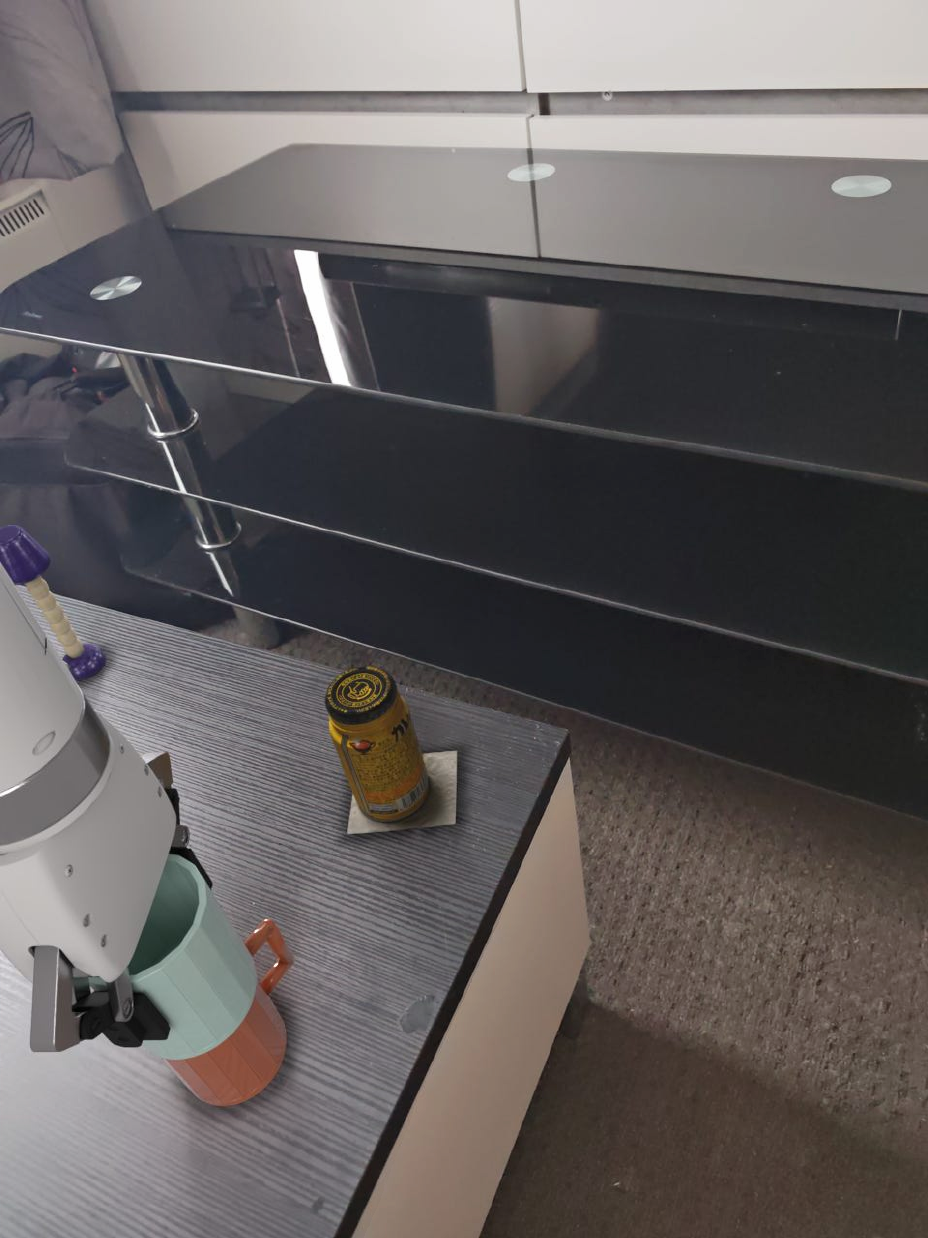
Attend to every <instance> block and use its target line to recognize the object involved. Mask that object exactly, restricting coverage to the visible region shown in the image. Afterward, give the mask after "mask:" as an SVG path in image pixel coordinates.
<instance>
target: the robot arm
mask: <svg viewBox="0 0 928 1238" xmlns="http://www.w3.org/2000/svg"><path fill="white" fill-rule="evenodd" d="M62 659H63V658H62V657H61V655H60V654H59V652H58V651H57V649H56V648H55V646H54V644H53V642H52V641H51V639H50V638H49V636H48V635H47V633H46V632H45V630H44V629H43V627H42V625H41V624H40V622H39V621H38V619H37V617H36V616H35V614H34V613H33V610H32V609H31V608H30V606H29V605H28V603H27V602H26V601H25V598H24V597H23V596H22V594H21V592H20V591H19V589H18V587H17V585H15V584H14V583H13V581H12V580H11V578H10V577H9V575H8V573H7V572H6V570H5V569H4V567H3V566H2V564H1V562H0V952H1V953H2V954H3V955H4V956H5V958H6V959H7V960H8V961H9V963H11V964H12V966H13V967H14V968H15V969H16V970H17V971H18V972H19V973H20V975H22V976H23V977H24V978H25V979H26V981H29V982H30V983H31V984H32V989H31V990H32V991H31V1011H30V1030H29V1048H30V1051H31V1052H33V1053H61V1052H64V1051H66V1050H68V1049H71V1048H73V1047H75V1046H78V1045H79V1044H80V1043H82V1042H83V1041H92V1040H94V1039H96V1038H97V1037H99V1036H100V1035H101V1034H103V1035H104V1036H105V1037H106V1039H108V1040H109V1042H110V1043H112V1044H113V1045H115V1046H116V1047H120V1048H128V1049H129V1048H132V1049H133V1048H140V1047H142V1043H143V1040H167V1039H168V1036H169V1033H170V1029H171V1028H170V1026H169V1023H168V1021H167V1020H166V1019H165V1018H164V1017H163V1016H162V1014H161V1013H160V1012H159V1011H158V1010H157V1008H156V1007H155V1006H154V1005H153V1004H152V1002H151V1001H150V1000H149V999H148V998H147V996H146V995H144V994H142V993H133V992H132V987H131V981H130V976H129V970H128V965H129V963H130V961H131V959H132V957H133V954H134V952H135V949H136V947H137V944H138V941H139V939H140V936H141V933H142V930H143V928H144V925H145V922H146V919H147V916H148V913H149V910H150V907H151V905H152V902H153V899H154V896H155V893H156V890H157V887H158V884H159V881H160V878H161V875H162V872H163V869H164V866H165V863H166V860H167V857H168V854H175V855H179V856H181V857H183V858H184V859H186V860H188V861H189V862H191V863H193V864H194V865H195V866H196V867H197V869H198V870H199V872H200V874H201V875H202V877H203V878H204V880H205V882H206V883H207V885H208V886H209V888H210V890H211V891H212V889H213V885H214V883H213V881H212V880H211V878H210V876H209V875H208V873H207V872H206V869H205V868H204V866H203V865H202V863H201V862H200V860H199V858H198V857H197V855H196V854H195V852H194V851H193V849H192V848H190V847H189V848H188V845H189V843H190V838H191V837H190V836H191V835H190V829H189V827H188V826H187V825H182V824H181V815H180V800H181V798H180V796H179V795H180V794H179V792H178V790H177V788H175V787H172V785H173V784H174V778H173V769H172V761H171V756H170V753H169V752H168V751H157V752H144V753H143V754H140V752H139V751H137V749H136V748H135V747H134V745H133V744H132V743H131V742H130V741H129V740H128V739H127V737H126V736H124V734H123V733H122V732H121V731H120V730H119V729H118V728H117V727H116V726H115V725H114V724H113V723H112V722H111V721H109V720H108V719H107V718H106V717H105V716H104V715H102V714H101V712H98V711H96V710H95V708H94V707H93V706H92V704H91V702H90V701H89V700H88V698H87V696H86V694H85V692H83V690H82V689H81V687H80V685H79V684H78V682H77V680H75V679H74V677H73V676H72V674H71V668H70V666H69V665H68V664H67V663H66V662H64V661H63V660H62ZM88 977H101V978H102V979H103V980H104V981H106V985H107V990H108V991H93V992H92V993H91V990H90V985H89V980H88Z"/></svg>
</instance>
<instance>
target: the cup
mask: <svg viewBox="0 0 928 1238" xmlns="http://www.w3.org/2000/svg"><path fill="white" fill-rule="evenodd" d="M244 942H245V941H243V939H242V937H241V936H240V934H239V933H238V931H237V929H236V928H235V926H234V924H233V923H232V922H231V920H230V918H229V917H228V915H227V914H226V912H225V911H224V909H223V907H222V905H221V904H220V903H219V901H218V899H217V897H216V896H215V895H214V893H213V891H212V889H211V890H210V888H209V886H208V885H207V883H206V882H205V880H204V878H203V877H202V875H201V874H200V872H199V870H198V869H197V867H196V866H195V865H194V864H193V863H191V862H189V861H188V860H186V859H184V858H183V857H181V856H179V855H175V854H168V857H167V860H166V863H165V866H164V869H163V872H162V875H161V878H160V881H159V884H158V887H157V890H156V893H155V896H154V899H153V902H152V905H151V907H150V910H149V913H148V916H147V919H146V922H145V925H144V928H143V930H142V933H141V936H140V939H139V941H138V944H137V947H136V949H135V952H134V954H133V957H132V959H131V961H130V963H129V965H128V970H129V976H130V981H131V987H132V992H133V993H142V994H144V995H146V996H147V998H148V999H149V1000H150V1001H151V1002H152V1004H153V1005H154V1006H155V1007H156V1008H157V1010H158V1011H159V1012H160V1013H161V1014H162V1016H163V1017H164V1018H165V1019H166V1020H167V1021H168V1023H169V1026H170V1028H171V1029H170V1033H169V1036H168V1039H167V1040H143V1043H142V1046H141V1047H142V1048H143V1049H144V1050H145V1052H148V1053H149V1054H150V1055H152V1056H155V1057H157V1058H158V1059H159V1058H160V1059H161V1058H163V1059H169V1060H182V1059H188V1058H193V1057H196V1056H199V1055H202V1054H204V1053H206V1052H208V1051H210V1050H212V1049H213V1048H215V1047H217V1046H218V1045H220V1044H221V1043H222V1042H223V1041H225V1040H226V1039H227V1038H228V1037H229V1036H230V1035H231V1034H232V1033H233V1032H234V1031H235V1030H236V1029H237V1028H238V1027H239V1025H240V1024H241V1023H242V1021H243V1020H244V1018H245V1017H246V1015H247V1013H248V1011H249V1009H250V1007H251V1005H252V1002H253V999H254V996H255V992H256V986H257V979H258V971H257V967H256V963H255V962H256V961H255V960H254V957H252V955H251V954H250V952H249V951H248V949H247V947H246V946H245V944H244ZM88 980H89V985H90V990H91V993H92V992H93V991H108V990H107V985H106V981H104V980H103V979H102V978H101V977H88Z"/></svg>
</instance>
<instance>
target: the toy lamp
mask: <svg viewBox="0 0 928 1238" xmlns="http://www.w3.org/2000/svg"><path fill="white" fill-rule="evenodd" d="M0 562H1V564H2V566H3V567H4V569H5V570H6V572H7V573H8V575H9V577H10V578H11V580H12V581H13V583H14V584H15V586H21V585H25V586H26V589H27V592H28V594H29V595H30V596H31V597H32V598H33V599H34V602H35V605H36V607H37V608H38V609H39V610H40V611H41V613H42V616H43V618H44V620H46V621H47V623H48V625H49V629H50V630H51V632H53V634H55V637H56V640H57V641H58V644H60V645H62V649H63V651H64V653H65V654H64V655H63V657H62V658H61V659H62V660H63V661H64V662H66V663H67V664H68V665H69V666H70V668H71V674H72V676H73V677H74V679H75V681H82V680H85V679H89V678H90V677H93V676H94V675H96V674H97V673H98V672H99V671H101V669H102V668H103V667H104V666H105V664H106V661H107V657H106V653H105V652H104V651H103V650H102V649H101V648H100V647H98V646H97V645H95V644H91V643H82V641H81V639H79V638H78V635H77V632H76V630H75V629H74V628H73V627H72V626H71V621H70V619H69V618H68V617H67V616H66V615H65V614H64V609H63V608H62V606H61V604H59V602H57V598H56V596H55V594H54V593H53V592H52V591H51V590H50V587H49V584H48V582H47V581H46V580H45V579H44V578H43V577H42V576H43V574H45V573H46V572H47V570H48V569H49V568H50V565H51V556H50V554H49V552H48V551H47V550H46V549H45V548H44V547H43V546H42V545H41V544H40V543H39V542H37V540H36V539H34V538H33V537H32V536H31V535H30V534H29V532H27V531H26V530H25V529H24V528H23V527H21V526H20V525H19V526H18V525H14V524H9V525H4V526H1V527H0Z"/></svg>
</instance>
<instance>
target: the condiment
mask: <svg viewBox="0 0 928 1238" xmlns="http://www.w3.org/2000/svg"><path fill="white" fill-rule="evenodd" d="M324 705H325V709H326V711H327V713H328V731H329V735H330V738H331V741H332V743H333V745H334V748H335V751H336V754H337V756H338V757H339V760H340V763H341V767H342V770H343V771H344V775H345V777H346V779H347V782H348V786H349V788H350V790H351V793H352V794H351V802H350V809H349V816H348V824H347V833H346V834H347V835H353V834H371V833H383V832H390V831H392V832H393V831H400V830H401V831H403V830H407V829H408V830H409V829H422V828H432V827H439V826H449V825H456V822H457V821H456V820H457V819H456V817H457V793H458V792H457V791H458V790H457V785H458V784H457V783H458V750H445V751H441V752H435V751H434V752H428V753H427V752H426V753H423V751H422V749H421V746H420V742H419V740H418V736H417V732H416V729H415V726H414V721H413V718H412V716H411V712H410V709H409V706H408V703H407V702H406V700H405V698H404V697H403V696H402V695H401V693H400V691H399V690H398V684H397V682H396V679H394V677H393V675H391V673H389V671H388V670H386V669H385V668H381V667H378V666H375V665H361V666H356V667H351V668H349V669H348V670H346V671H342V672H341V673H339V674H338V675H337V676H336V677H335V678H334V679H333V680H332V681H330V683H329V685H328V686H327V689H326V692H325V695H324Z"/></svg>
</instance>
